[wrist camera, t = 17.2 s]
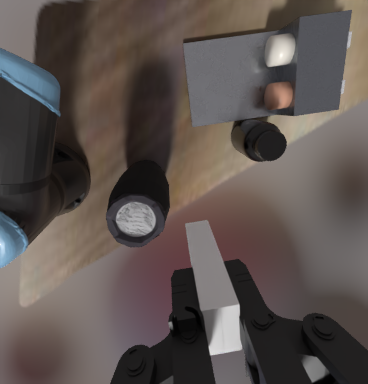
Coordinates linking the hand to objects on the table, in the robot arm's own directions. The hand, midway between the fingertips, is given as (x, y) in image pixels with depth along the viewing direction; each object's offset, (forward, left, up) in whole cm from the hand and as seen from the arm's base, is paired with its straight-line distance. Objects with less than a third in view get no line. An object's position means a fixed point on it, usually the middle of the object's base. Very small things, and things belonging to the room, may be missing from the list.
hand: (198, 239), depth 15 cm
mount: (+16, +11, -32) cm, 38 cm away
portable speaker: (-7, -5, -33) cm, 34 cm away
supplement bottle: (+15, +1, -33) cm, 36 cm away
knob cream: (+24, +14, -31) cm, 42 cm away
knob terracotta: (+25, +7, -31) cm, 40 cm away
